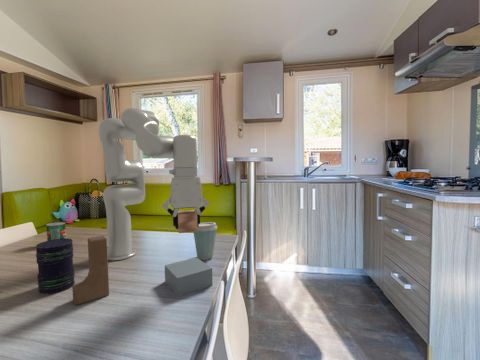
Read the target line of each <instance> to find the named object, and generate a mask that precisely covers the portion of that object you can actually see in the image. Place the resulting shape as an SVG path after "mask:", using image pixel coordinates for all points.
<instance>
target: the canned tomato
mask: <svg viewBox="0 0 480 360" xmlns="http://www.w3.org/2000/svg"><path fill="white" fill-rule="evenodd" d="M45 225H46V241H49V240H55V239H67V233H66V231H67V230H66V222H65V221H56V222H50V223H47V224H45Z"/></svg>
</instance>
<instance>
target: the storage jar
mask: <svg viewBox="0 0 480 360" xmlns="http://www.w3.org/2000/svg"><path fill="white" fill-rule="evenodd" d="M35 249H36V250H35V252H36V253H35V258H36V260H35V261H36V264H37V266H38V267H37V268H38V274H37V285H38V293H39V294H40V295H55V294H59V293H61V292H65V291H67V290H69V289H71V288H72V287H73V285H75V284H76V283H75V276H76V273H75V267H74V261H73V259H74V258H73V257H74V245H73V239H72V238H66V239H55V240H49V241H47V240H46V241H42V242H39V243H37V244H36V246H35Z"/></svg>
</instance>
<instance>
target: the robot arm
mask: <svg viewBox="0 0 480 360" xmlns="http://www.w3.org/2000/svg"><path fill="white" fill-rule="evenodd" d="M159 126H160V119H159V116H158V114H156V113H155V112H152V111H150V110H146V109H145V110H144V109H140V108H139V109H138V108H134V107H133V108H132V107H131V108H126V109H124V110H123V111H122V113H121V115H120V118H118V117H117V118H113V117H111V118H110V117H108V118H104V119H103V120H100V123H99V127H98V136H99V141H100V143H101V146H102V149H103V156H104V158H103V159H104V171H105V177H106V180H107V181H109V182H113V183H118V182H119V183H121V182H130V183H129V184H127V183H125V184H114V185H109V186H106V187H105V188H104V190H103V192H102V193H103V194H102V198H103V202H104V206H105V214H106V229H107V230H106V231H107V256H108V261H122V260H126V259H129V258H132V257H134V256H135V255H136V252H137V251H136V249H134V248H132V247H133V244H132V242H133V241H132V221H131V220H132V219H131V214H130V211H129V210H128V209H127V208H126V207H127V206H131V205H138V204H139V205H140V204H142V203H143V202H144V201H145V199H146V184H145V183H146V182H145V181H146V180H145V170H144V167H143V165H142V163H141V162H139V161H137V160H130V159H129V160H128V159H127V155H126V149H125V147H124V145H123V144H122V143H121V141H119V140H123V141H124V140H127V141H128V140H129V141H135V142H136V145H137V147H138V149H139V150H140V151H142V152H143V154H145V155H146V156H148V157H149V158H153V159H173V168H172V169H169V170H168V171H169V173H168V174H169V175H173V177H171V181H170V191H169V192H170V193H169V194H170V196H169V197H168V198H167V200H166V201H164V202H163V204H162V205H161V207H162V208H163V209H164V210H165V211H166V212H167V213H169V214H170V215H171V216H172V226H173V227H175V229H176V230H177V229H178V217H177V213H178V211H180V209H191V208H193V210H194V211H195V212H197V225H198V227H199V224H200V223H201V215H202V213H203V212H204V211H205V210H206V208H207V207H208V206H209V205H210V202H209V201H208V200H207V199H206V198H205V197H204V196H203V187H202V183H201V178H200V177H199V176H198V153H197V152H198V149H197V148H198V147H197V145H198V144H197V138H196V137H195V136H193V135H190V134H178V135H175V136H169V135H159V131H160V127H159ZM169 205H170V206H171V207H169Z"/></svg>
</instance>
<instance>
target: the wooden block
mask: <svg viewBox="0 0 480 360" xmlns="http://www.w3.org/2000/svg"><path fill="white" fill-rule="evenodd" d="M107 246H108V238H107V237H106V236H105V235H99V236H93V237H88V238H87V250H88V251H87V252H88V253H87V254H88V256H87V257H88V273H87V276H85V278H84V280H82V281H81V282H78V283H75V284H74V285H73V286H72V287H71V288H72V289H71V290H72V300H73V303H74V305H75V306H79V305H81V304H86V303H88V302H91V301H94V300H97V299H101V298H103V297H107V296H109V295H110V283H109V260H108V256H107Z"/></svg>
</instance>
